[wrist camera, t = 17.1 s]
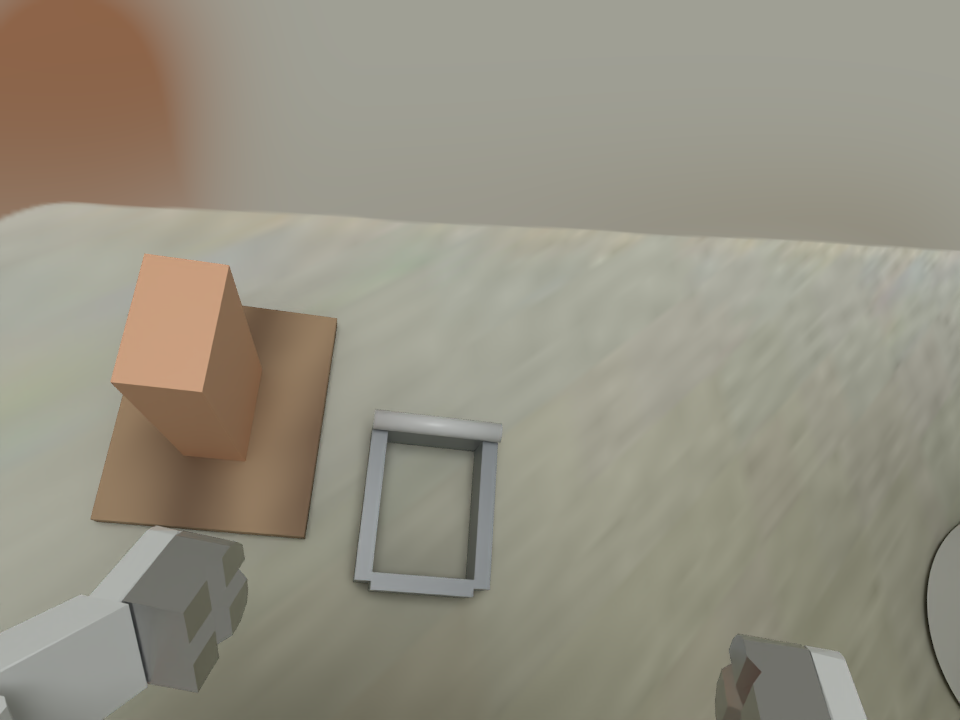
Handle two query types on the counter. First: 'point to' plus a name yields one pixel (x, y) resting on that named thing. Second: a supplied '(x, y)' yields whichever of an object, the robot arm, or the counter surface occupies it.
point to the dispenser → (485, 447)
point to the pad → (227, 483)
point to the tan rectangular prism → (190, 357)
